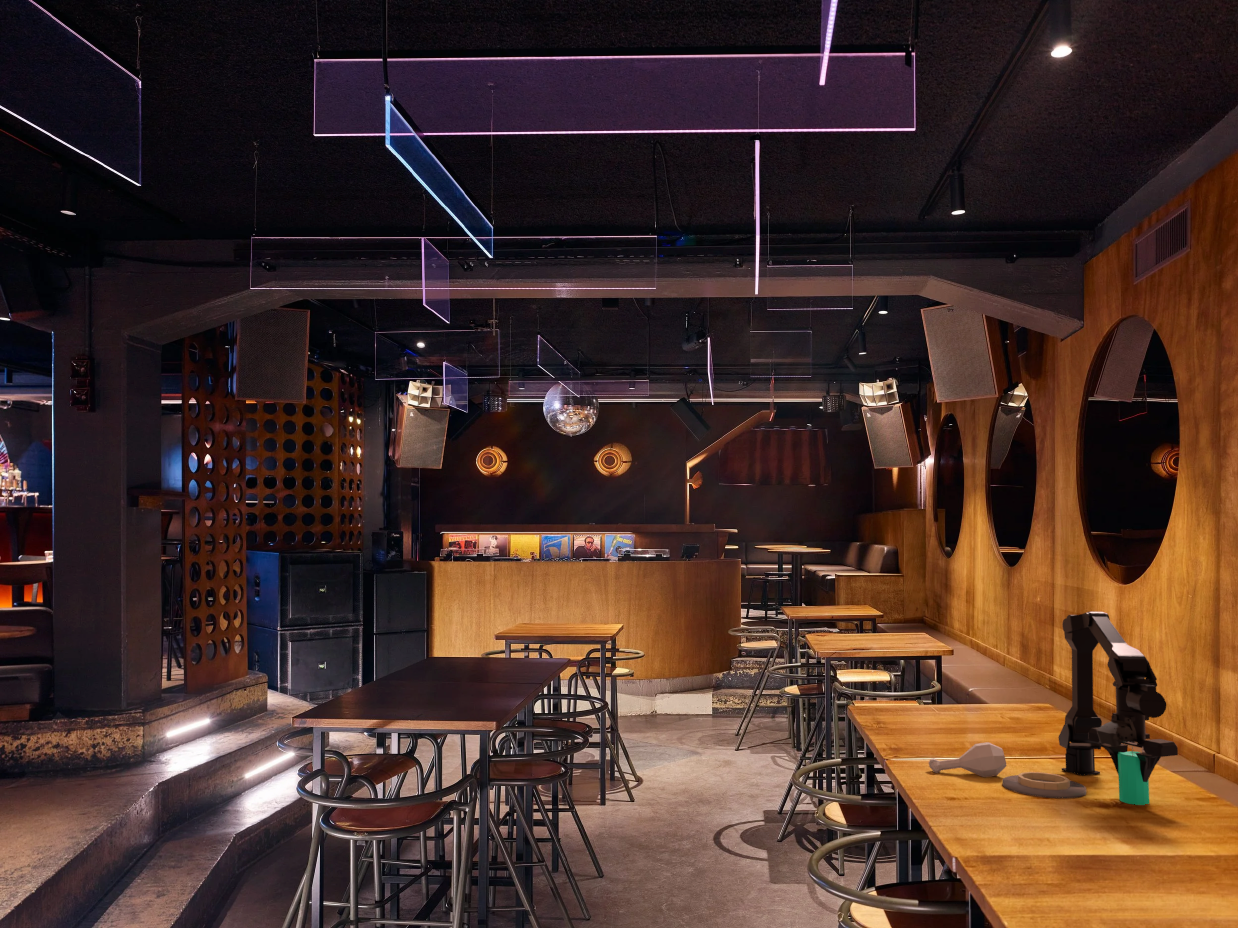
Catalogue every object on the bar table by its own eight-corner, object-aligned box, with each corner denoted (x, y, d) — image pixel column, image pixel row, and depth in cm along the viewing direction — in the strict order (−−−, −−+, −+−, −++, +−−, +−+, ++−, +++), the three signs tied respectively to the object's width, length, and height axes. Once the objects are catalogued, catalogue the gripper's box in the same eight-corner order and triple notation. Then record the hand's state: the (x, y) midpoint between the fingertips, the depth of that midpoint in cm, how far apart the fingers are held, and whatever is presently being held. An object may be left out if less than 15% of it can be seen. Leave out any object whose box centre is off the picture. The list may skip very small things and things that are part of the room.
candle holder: (1042, 776, 234) (1041, 766, 234) (1104, 794, 217) (1103, 783, 218) (985, 782, 227) (985, 771, 227) (1045, 801, 210) (1045, 789, 211)
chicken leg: (930, 770, 243) (924, 743, 241) (1003, 761, 239) (997, 733, 237) (935, 791, 235) (929, 762, 233) (1010, 781, 231) (1005, 752, 229)
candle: (1146, 799, 213) (1144, 745, 214) (1152, 806, 207) (1150, 750, 209) (1117, 796, 215) (1115, 743, 216) (1121, 803, 209) (1119, 748, 211)
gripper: (1070, 704, 219) (1071, 773, 217) (1141, 719, 202) (1144, 794, 200) (1105, 702, 223) (1106, 770, 222) (1178, 716, 206) (1180, 789, 205)
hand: (1132, 780), depth 212 cm, fingers closed on candle, 5 cm apart
